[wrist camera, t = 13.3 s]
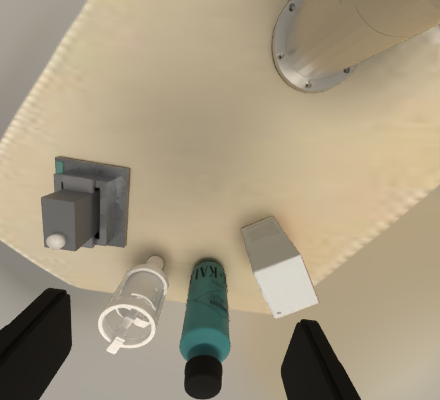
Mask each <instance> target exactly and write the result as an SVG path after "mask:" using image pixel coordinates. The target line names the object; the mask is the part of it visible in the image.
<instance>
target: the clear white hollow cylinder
mask: <svg viewBox="0 0 440 400" xmlns="http://www.w3.org/2000/svg"><path fill="white" fill-rule="evenodd" d="M163 266H164V261H163V260H162V258H160V257H158V256H152V257H150V258H149V259H148V261H147V263H146V264H141V265H137V266H134V267H132V268H131V269H130V270H129V271H128V272H127V274H126V275H125V277H124V278H123V280H122V282H121V283H120V285H119V287H118V288H117V290H116V291H115V293H114V295H113V296H112V298H111V300H110V301H109V303H108V304H107V306H106V308H105V309H104V311H103V313H102V314H101V316H100V318H99V321H98V327H99V331H100V332H101V334H102V336H103V337H104V338H105V339H106V340H107V341H109V342H110V344H109V346H108V348H107V351H108V352H110V353H112V354H115V353H116V352H117V351H118V349H119V348H120V347H123V348H135V347H140V346H142V345H145V344H146V343H148V342H149V341H150V340H151V339H152V338H153V336H154V334H155V330H156V327H157V323H158V319H159V316H160V313H161V309H162V306H163V303H164V299H165V296H166V293H167V290H168V286H169V281H168V278H167V276H166V274H165V273H164V272H163V271H162V268H163ZM163 287H164V289H163ZM155 288H157V290H158V292H157V291H156V289H155ZM121 289H122V292H121V294H120V296H119V297H118V299H117V300H116V298H117V296H118V294H119V293H120V291H121ZM114 309H116V311H117V313H118V314H119V316H120V317H122V318H123V319H124V320H123V321H122V322H121V323H120V324H119V326H118V327H117V329H116V332H114V331H113V330H112V329H111V328H110V327H109V325H108V323H107V320H106V315H107V313H109V312H110V311H112V310H114ZM136 311H140V312H142V313H143V314H144V315H145V317H142V316H140V315H137V316H136V318H135V317H134V316H135V313H136ZM132 322H133V323H134V324H135V325H137V326H140V327H142V328H144V327H146V326H148V325H149V324H150V323H151V326H150V329H149V332H148V333H147V334H145V335H143V336H141V337H136V338H129V337H126V336H125V333H126V331H127V329H128V328H129V326H130V325H131V323H132Z"/></svg>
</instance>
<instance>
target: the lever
mask: <svg viewBox="0 0 440 400" xmlns="http://www.w3.org/2000/svg"><path fill="white" fill-rule="evenodd" d="M41 205H42V219H43V232H44V246H45V247H48V248H51V249H53V250H59V249H63V250H70V251H77V250H78V249H79V248H80V247H87V248H93V247H94V235H95V234H96V233H97V232H99V231H100V188H96V187H95V179H91V178H85V177H79V176H72V175H66V174H65V175H63V189H62V190H59V191H57V192H54V193H51V194H49V195H46V196H44V197H41Z"/></svg>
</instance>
